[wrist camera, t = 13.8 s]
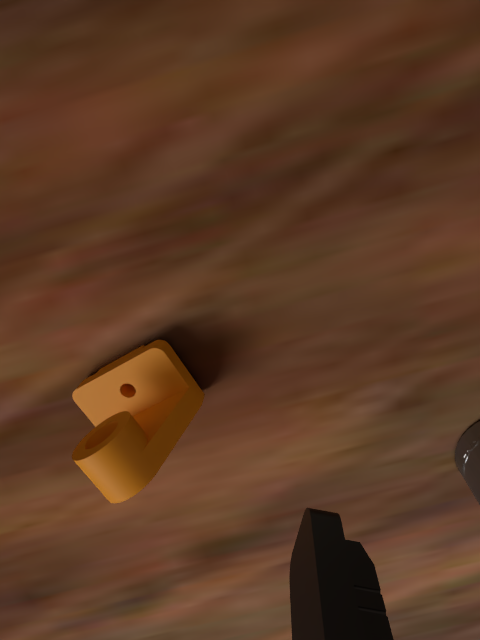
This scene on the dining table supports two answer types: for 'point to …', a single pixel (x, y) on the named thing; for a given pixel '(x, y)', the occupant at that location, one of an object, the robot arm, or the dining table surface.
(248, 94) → the dining table surface
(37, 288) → the dining table surface
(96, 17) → the dining table surface
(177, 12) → the dining table surface
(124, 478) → the bracket
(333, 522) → the robot arm
